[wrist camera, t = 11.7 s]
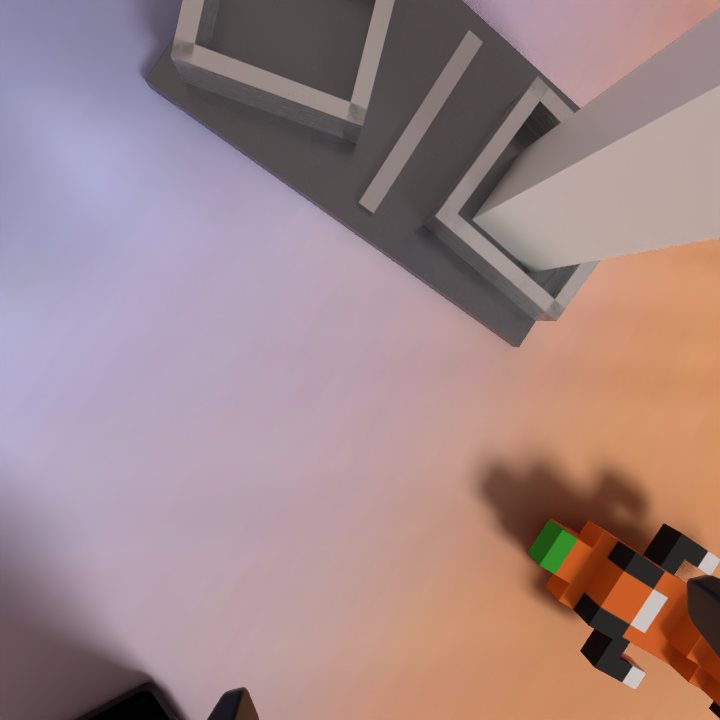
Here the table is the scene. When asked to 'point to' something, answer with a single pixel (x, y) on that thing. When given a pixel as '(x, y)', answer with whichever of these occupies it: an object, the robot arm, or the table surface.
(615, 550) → the toy
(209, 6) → the gray square frame
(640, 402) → the table surface
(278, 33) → the panel
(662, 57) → the plug
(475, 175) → the grey square holder
